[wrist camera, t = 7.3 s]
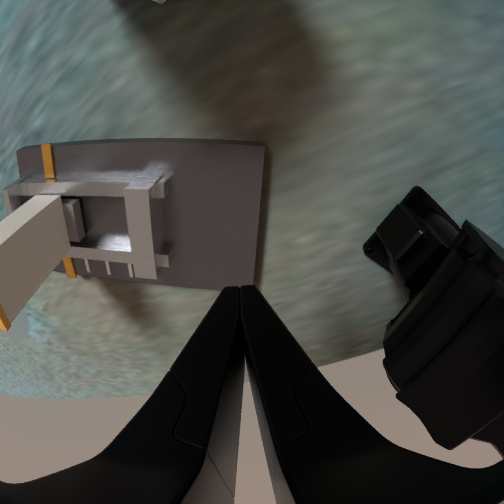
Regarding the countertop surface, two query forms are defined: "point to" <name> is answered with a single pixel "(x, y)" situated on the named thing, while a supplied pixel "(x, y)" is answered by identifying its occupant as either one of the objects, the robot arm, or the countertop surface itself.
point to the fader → (34, 248)
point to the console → (153, 206)
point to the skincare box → (159, 1)
